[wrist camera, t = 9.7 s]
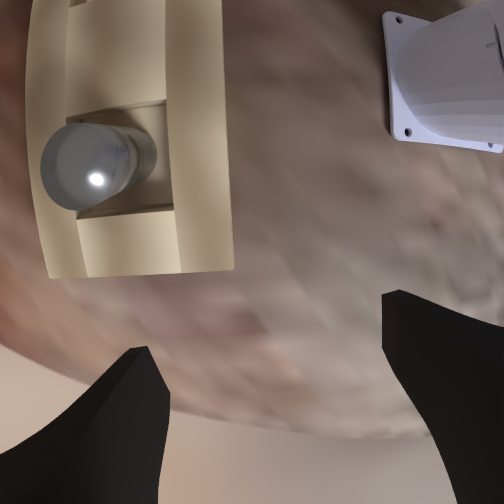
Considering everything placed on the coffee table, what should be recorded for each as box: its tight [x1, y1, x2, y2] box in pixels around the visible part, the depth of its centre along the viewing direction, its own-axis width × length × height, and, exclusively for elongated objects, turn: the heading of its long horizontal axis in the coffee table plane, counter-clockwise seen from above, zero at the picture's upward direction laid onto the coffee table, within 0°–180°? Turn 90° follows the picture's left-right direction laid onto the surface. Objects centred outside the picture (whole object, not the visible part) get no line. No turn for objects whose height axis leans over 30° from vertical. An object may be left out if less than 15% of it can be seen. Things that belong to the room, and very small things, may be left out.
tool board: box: [25, 0, 234, 279], centre depth 13 cm, size 10×22×3 cm, turn 2°
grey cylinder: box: [40, 123, 157, 211], centre depth 12 cm, size 3×3×6 cm
